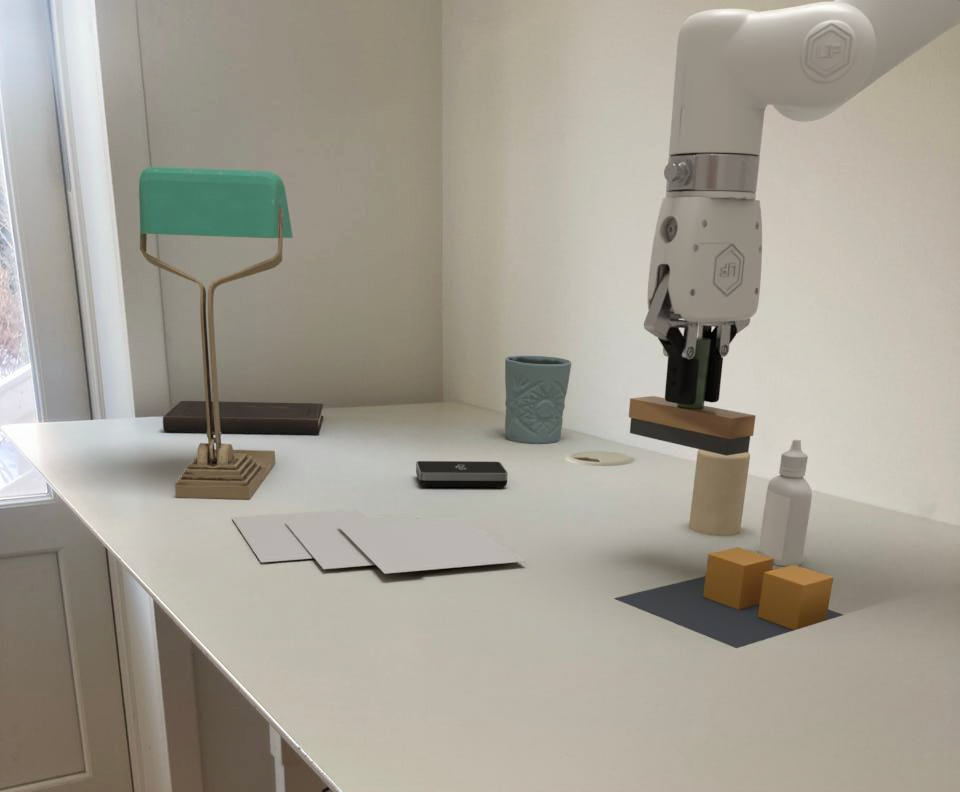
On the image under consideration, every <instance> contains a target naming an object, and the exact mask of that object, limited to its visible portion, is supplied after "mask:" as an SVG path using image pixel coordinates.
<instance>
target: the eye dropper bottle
mask: <svg viewBox="0 0 960 792" xmlns="http://www.w3.org/2000/svg"><path fill="white" fill-rule="evenodd" d="M808 457H809V456H808V455H807V454H806V453H804V452H803V450H802V440H801V439H796V438H795V439H793V440H792V442H791V445H790V448H789V449H788V450H787V451H785V452H782V453H781V457H780V465H779V470H778V474H779V475H776V476H773V477H771V479H770V480H769V482H768V484H767V487H766V488H767V489H766V493H765V501H764V508H763V514H762V522H761V528H760V529H761V530H760V536H759V544H758V554H761V555H764V556H768V557H771V558H774V563H773V565H776V566H778V567H787V566H791V565H796V566H799V567H801V565H802V563H803V559H804V553H805V552H804V551H805V546H806V539H807V533H808V528H809V527H808V526H809V520H810V515H811V514H810V512H811V507H812V498H813V492H812V488H811V486H810V484H809V483H808V481H807V480H806V478H804V477H805V476H806V471H807V466H808V465H807V463H808Z"/></svg>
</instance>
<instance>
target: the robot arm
mask: <svg viewBox="0 0 960 792" xmlns="http://www.w3.org/2000/svg"><path fill="white" fill-rule="evenodd" d="M958 25H960V0H829V1H818V2H812V3H807V4H802V5H796V6H790V7H784V8H778V9H769V10H764V11H756V10H752V9H746V8H716V9H707V10H703V11H699V12H696V13H693V14H691V15H690V16H689V17H687V18H686V19H685V20H684V22H683V23H682V24H681V27H680V29H679V31H678V37H677V45H676V46H677V47H676V56H675V57H676V59H675V70H674V71H675V72H674V85H673V98H672V111H671V124H670V134H669V135H670V136H669V151H668V159H667V161H668V163H667V164H666V165H665V168H664V171H663V176H664V179H665V180H666V187H665V188H666V189H665V191H666V192H665V197H662V201H661V205H660V209H659V212H658V216H657V221H656V224H655V225H656V226H655V230H654V236H653V242H652V248H651V256H650V262H649V271H648V272H649V273H648V282H647V309H648V312H647V314H646V317H645V320H644V322H643V328H644V330H645V331H646V332H649V333H650V334H651V335H653V336H654V337H656V338H657V340H658V341H659V342H660V344H661V346H662V353H663V356H664V357H667V365H666V377H665V390H664V398H665V400H666V401H667V402H672V403H678V404H683V405H693V404H694V403H695V400H696V390H697V379H698V369H699V359H693V357H694V355H695V349H696V341H697V337H700V338H709V339H711V344H710V354H709V363H708V372H707V382H706V391H705V401H704V402H706V403H717V402H718V401H719V400H720V392H721V382H722V374H723V365H724V363H723V362H724V358H725V357H727V356H728V355H729V351H730V344H731V343H732V342H733V340H734V339H735V337H736V335H737V334H739V333H740V332H741V331H742V330H744V329H746V328H747V327H748V326H749V325H750V323H751V318H752V317H753V316H755V314H756V313H757V311H758V307H759V302H760V301H759V300H760V291H761V281H762V279H761V278H762V260H763V219H762V209H761V201H760V200H757V199H756V198H757V186H758V177H759V168H760V156H761V148H762V147H761V146H762V137H763V131H764V130H763V129H764V119H765V111H766V108H767V107H768V105H769V106H770V105H772V106H773V108H774V109H775V110H776V111H777V112H778V114H781V115H782V116H783V117H785V118H787V119H789V120H792V121H795V122H802V123H803V122H805V123H806V122H808V123H809V122H815V121H818V120H820V119H823V118H825V117H827V116H829V115H831V114H832V113H833V112H835V111H836V110H837V109H839V108H840V107H842V106H843V105H845V104H846V103H847V102H849V101H850V100H851V99H853V98H854V97H855V96H857V95H858V94H859V93H861V92H863V91H865V89H866V88H868V87H869V86H871V85H872V84H874V83H875V82H876V81H878V80H879V79H880V78H882V77H883V76H885V75H886V74H888V73H889V72H890V71H892V70H893V69H894V68H896V67H898V66H899V65H900V64H901V63H903V62H904V61H905V60H907V59H908V58H911V56H912V55H914V54H916V53H917V52H918V51H920V50H921V49H923V48H924V47H925V46H927V45H928V44H930V43H932V42H933V41H935V40H936V39H937V38H939V37H940V36H942V35H944V34H945V33H947V32H948V31H950V30H951V29H953V28H954V27H957V26H958ZM713 327H714V328H713ZM680 328H681V329H683V333H682V331H681V330H680Z"/></svg>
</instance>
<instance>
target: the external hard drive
mask: <svg viewBox="0 0 960 792" xmlns="http://www.w3.org/2000/svg"><path fill="white" fill-rule="evenodd" d="M415 474H416V476H417V479H418V482H419V485H420V486H421V487H423V488H495V489H496V488H504V487H506V486H507V484H508V470H507V469H506V468H505V466H504V465H503V463H502V462H500V461H484V460H483V461H482V460H481V461H476V460H475V461H474V460H473V461H471V460H468V461H467V460H464V461H463V460H459V461H458V460H455V461H454V460H418V461H417V460H416V462H415Z"/></svg>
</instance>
